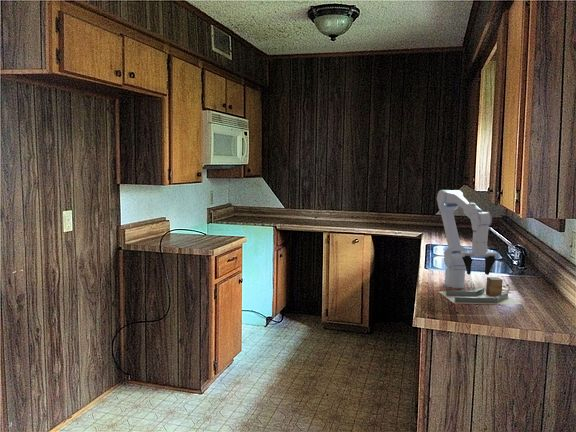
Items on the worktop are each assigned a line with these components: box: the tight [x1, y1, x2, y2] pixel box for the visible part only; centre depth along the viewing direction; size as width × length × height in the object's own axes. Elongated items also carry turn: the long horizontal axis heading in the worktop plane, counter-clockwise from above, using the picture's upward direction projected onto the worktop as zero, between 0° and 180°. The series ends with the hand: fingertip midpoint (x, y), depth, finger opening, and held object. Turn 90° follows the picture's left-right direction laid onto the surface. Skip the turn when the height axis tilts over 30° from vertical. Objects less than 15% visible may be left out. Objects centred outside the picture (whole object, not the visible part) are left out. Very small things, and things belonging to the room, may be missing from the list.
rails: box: [445, 287, 509, 304], centre depth 203 cm, size 16×25×2 cm, turn 92°
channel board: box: [438, 290, 523, 307], centre depth 203 cm, size 18×27×1 cm, turn 92°
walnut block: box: [485, 276, 504, 296], centre depth 206 cm, size 4×4×7 cm
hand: (477, 274), depth 205 cm, fingers open, 7 cm apart
